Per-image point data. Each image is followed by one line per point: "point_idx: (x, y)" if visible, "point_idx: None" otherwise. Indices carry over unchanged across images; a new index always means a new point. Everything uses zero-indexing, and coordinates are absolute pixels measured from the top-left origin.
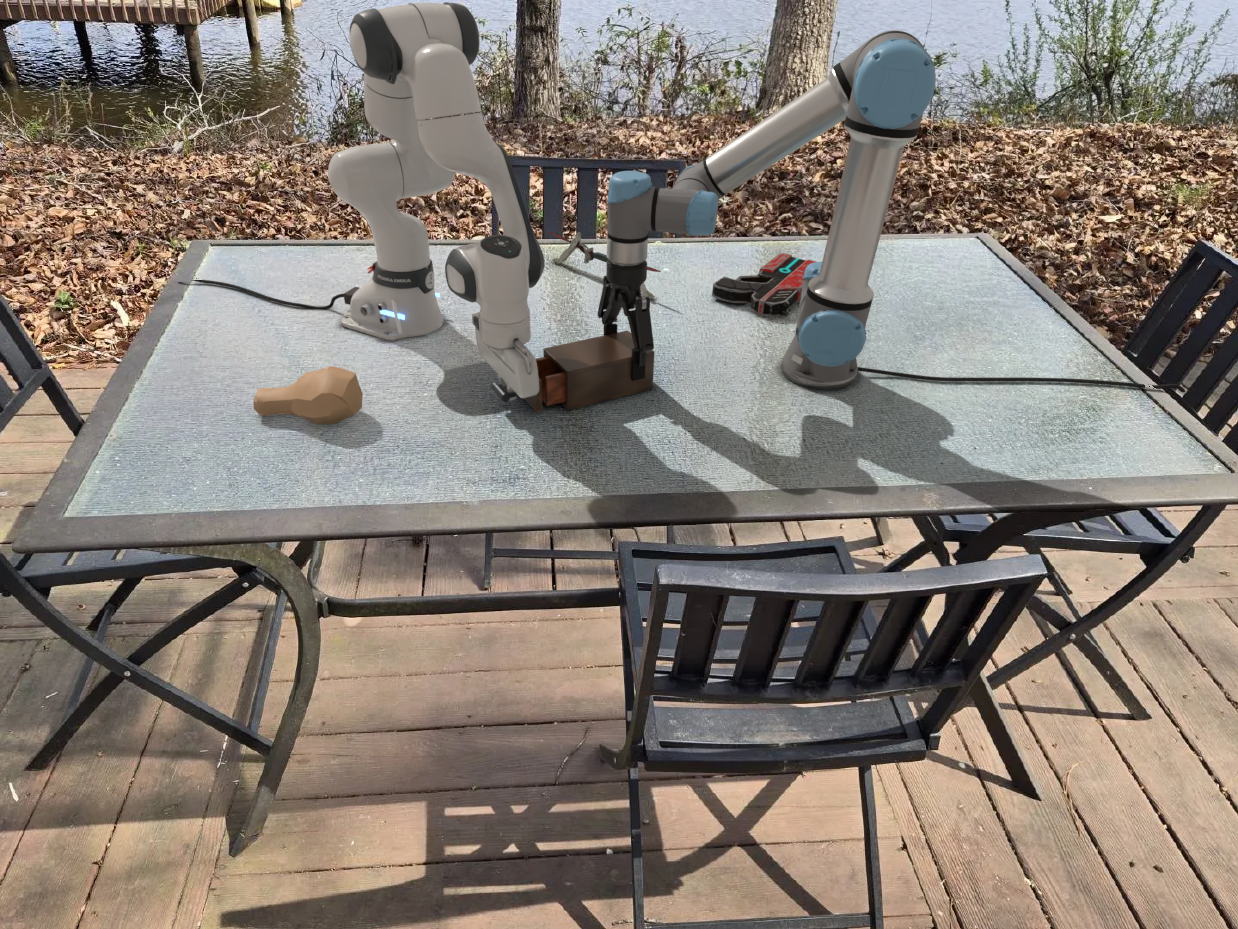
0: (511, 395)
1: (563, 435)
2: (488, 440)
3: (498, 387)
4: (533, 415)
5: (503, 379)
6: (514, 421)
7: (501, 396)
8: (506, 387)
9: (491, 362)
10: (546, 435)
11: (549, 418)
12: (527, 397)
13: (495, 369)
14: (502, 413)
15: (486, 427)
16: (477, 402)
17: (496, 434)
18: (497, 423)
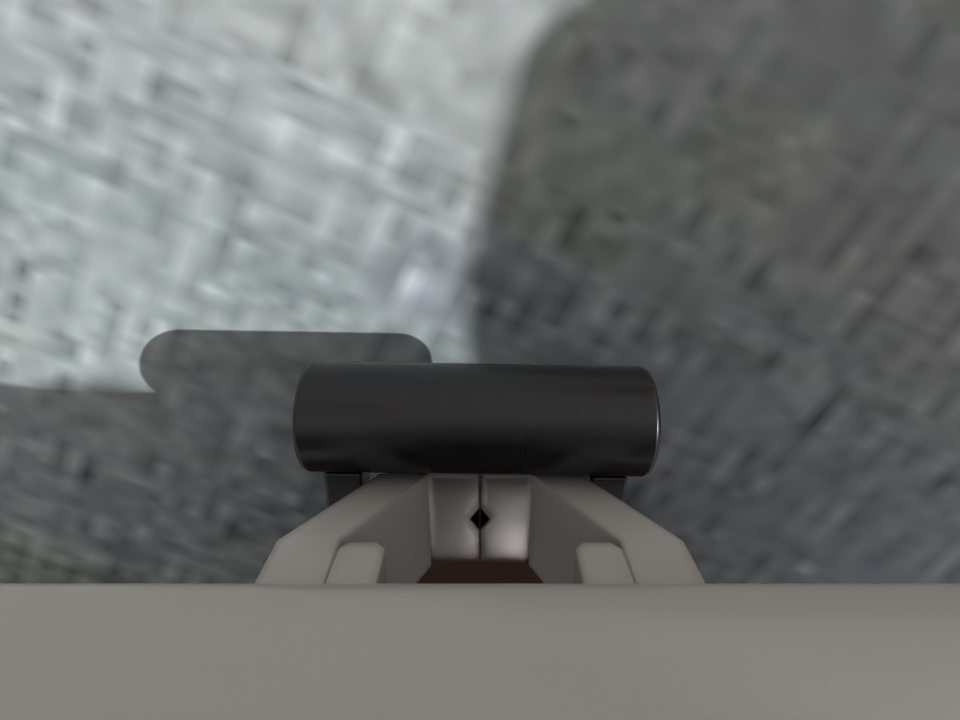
0: (329, 486)
1: (7, 553)
2: (32, 21)
3: (501, 433)
4: (322, 500)
5: (262, 595)
6: (288, 358)
7: (316, 383)
8: (514, 508)
9: (929, 707)
10: (27, 470)
11: (246, 565)
12: (445, 571)
13: (655, 632)
14: (444, 326)
15: (272, 104)
16: (723, 211)
17: (125, 140)
18: (305, 225)
